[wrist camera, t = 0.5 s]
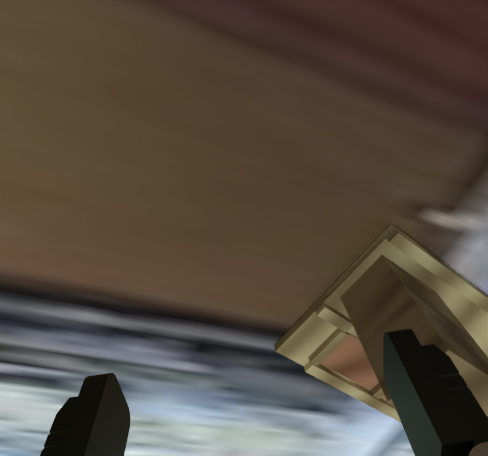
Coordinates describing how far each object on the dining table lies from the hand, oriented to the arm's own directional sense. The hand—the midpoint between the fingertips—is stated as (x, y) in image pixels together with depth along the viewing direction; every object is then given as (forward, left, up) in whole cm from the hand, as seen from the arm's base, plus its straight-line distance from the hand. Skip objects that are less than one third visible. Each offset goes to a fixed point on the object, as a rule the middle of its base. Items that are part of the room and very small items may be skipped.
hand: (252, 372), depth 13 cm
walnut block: (-10, +21, -25) cm, 34 cm away
